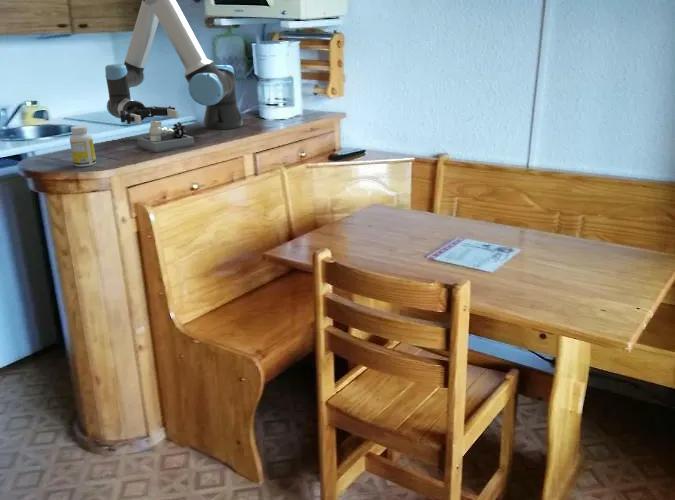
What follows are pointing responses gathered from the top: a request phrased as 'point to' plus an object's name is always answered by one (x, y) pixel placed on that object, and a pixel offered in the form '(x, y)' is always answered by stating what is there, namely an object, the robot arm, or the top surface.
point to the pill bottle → (82, 147)
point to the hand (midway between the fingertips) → (158, 117)
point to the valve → (165, 131)
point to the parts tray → (165, 143)
